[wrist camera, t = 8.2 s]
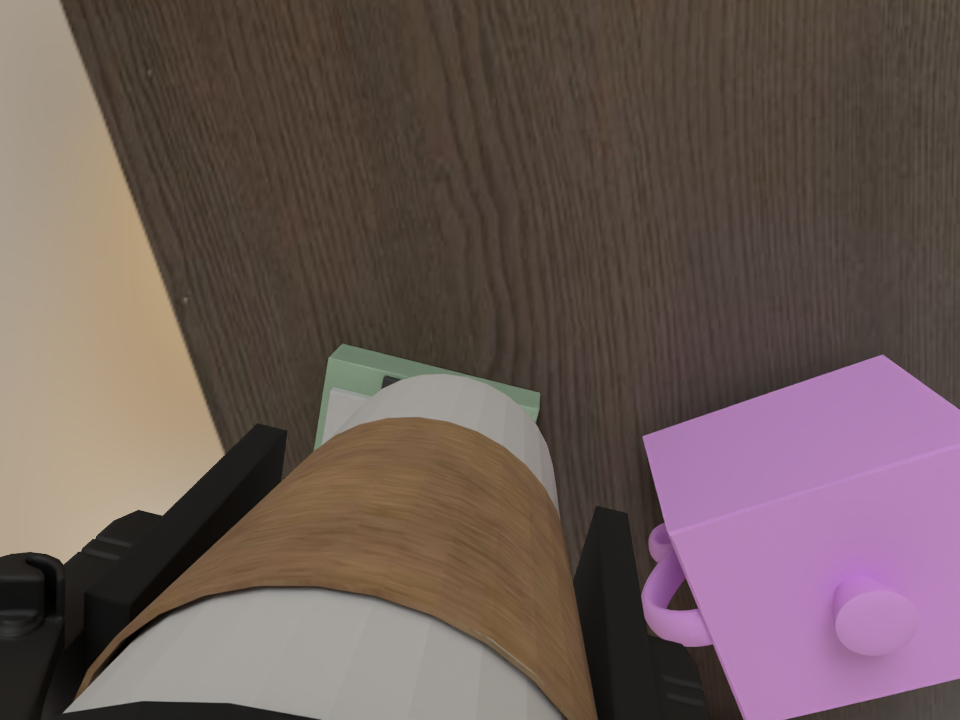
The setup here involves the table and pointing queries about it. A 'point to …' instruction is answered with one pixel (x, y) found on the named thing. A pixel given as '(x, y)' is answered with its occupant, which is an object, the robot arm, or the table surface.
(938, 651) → the teapot
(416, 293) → the table surface
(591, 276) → the table surface
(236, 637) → the coffee cup
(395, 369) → the kitchen scale
